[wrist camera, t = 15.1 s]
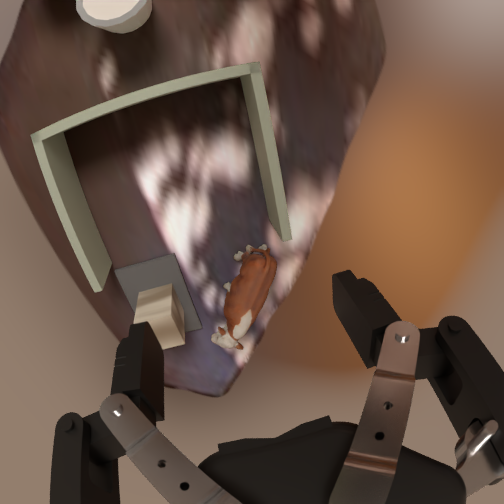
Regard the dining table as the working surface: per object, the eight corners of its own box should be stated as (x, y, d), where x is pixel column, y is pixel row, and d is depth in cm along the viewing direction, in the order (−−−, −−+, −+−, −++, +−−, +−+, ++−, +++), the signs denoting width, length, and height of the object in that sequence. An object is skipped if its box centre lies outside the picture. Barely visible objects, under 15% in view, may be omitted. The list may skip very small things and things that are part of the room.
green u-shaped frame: (53, 127, 28) (30, 135, 23) (247, 66, 30) (259, 61, 25) (105, 265, 37) (94, 292, 32) (277, 217, 39) (292, 239, 33)
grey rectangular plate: (115, 269, 38) (114, 271, 37) (174, 253, 38) (174, 255, 38) (149, 338, 44) (149, 340, 43) (202, 325, 44) (202, 328, 44)
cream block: (138, 292, 39) (133, 324, 34) (172, 283, 40) (171, 315, 34) (152, 319, 42) (149, 352, 36) (183, 310, 42) (185, 343, 36)
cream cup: (104, 49, 26) (84, 39, 20) (89, -1, 22) (68, -18, 16) (165, 24, 26) (160, 7, 20) (149, -26, 22) (141, -50, 16)
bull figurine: (202, 312, 43) (207, 354, 36) (245, 226, 38) (260, 260, 31) (231, 320, 45) (240, 362, 38) (277, 239, 40) (297, 273, 33)
